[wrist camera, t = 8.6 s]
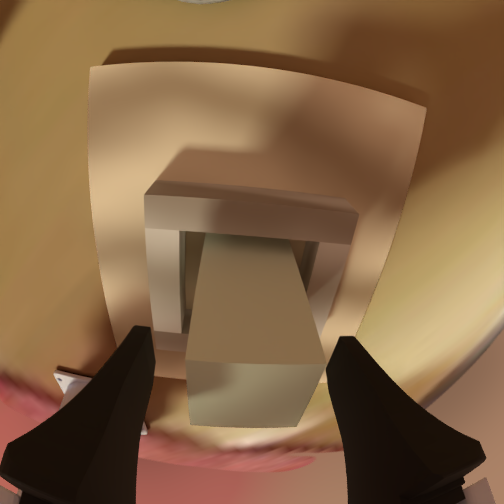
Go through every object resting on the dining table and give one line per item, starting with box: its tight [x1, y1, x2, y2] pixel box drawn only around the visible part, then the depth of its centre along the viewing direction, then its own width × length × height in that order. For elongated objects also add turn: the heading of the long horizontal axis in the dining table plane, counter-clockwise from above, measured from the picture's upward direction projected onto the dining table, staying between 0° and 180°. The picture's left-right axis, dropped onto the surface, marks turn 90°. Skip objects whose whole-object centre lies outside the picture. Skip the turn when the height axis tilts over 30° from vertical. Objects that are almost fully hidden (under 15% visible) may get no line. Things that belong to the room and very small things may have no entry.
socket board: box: [88, 62, 427, 383], centre depth 16 cm, size 20×16×3 cm
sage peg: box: [185, 233, 327, 428], centre depth 12 cm, size 4×4×8 cm
